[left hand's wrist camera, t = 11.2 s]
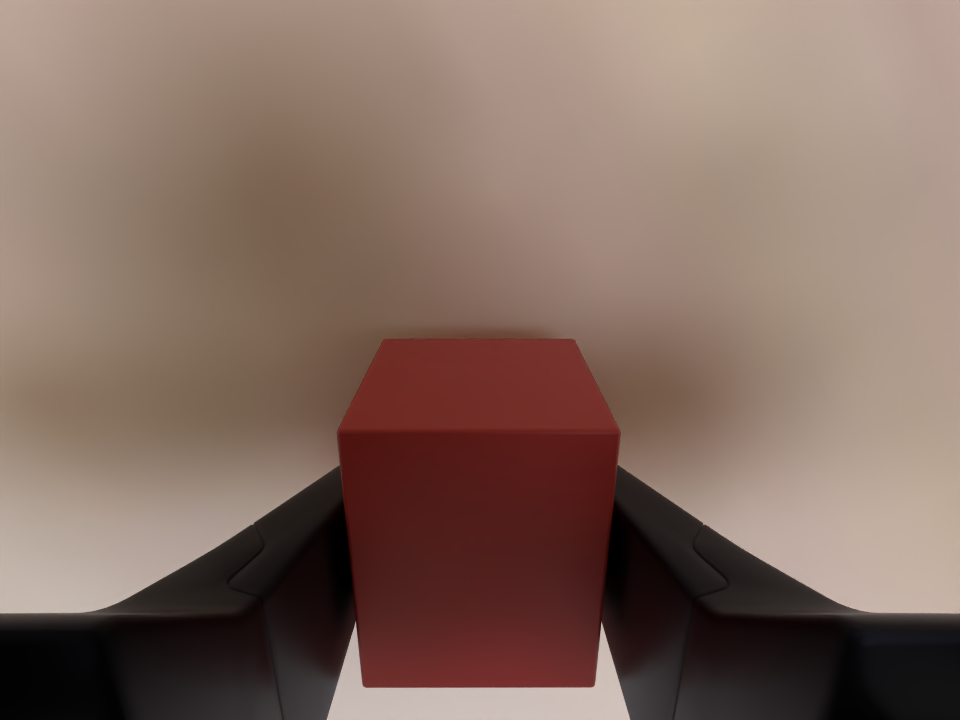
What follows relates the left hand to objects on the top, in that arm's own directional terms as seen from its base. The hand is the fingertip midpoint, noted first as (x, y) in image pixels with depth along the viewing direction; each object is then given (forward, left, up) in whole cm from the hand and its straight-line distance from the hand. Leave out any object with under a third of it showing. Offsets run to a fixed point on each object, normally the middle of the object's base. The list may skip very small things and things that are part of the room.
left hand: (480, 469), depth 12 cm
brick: (0, 0, -1) cm, 1 cm away
